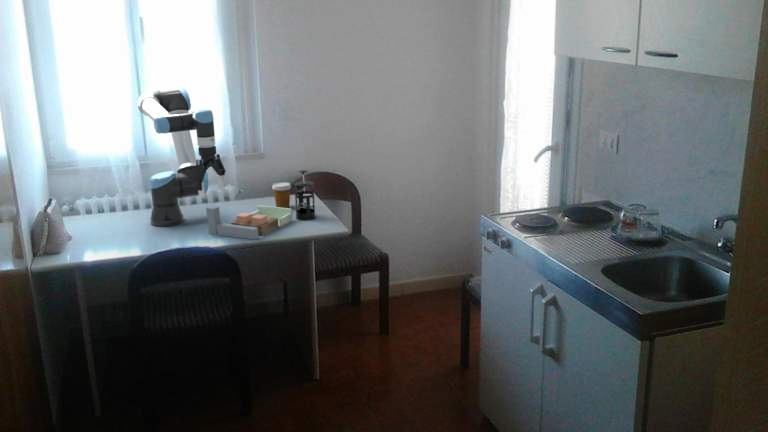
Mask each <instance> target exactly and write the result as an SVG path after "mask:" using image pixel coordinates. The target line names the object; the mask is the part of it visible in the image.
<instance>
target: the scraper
mask: <svg viewBox="0 0 768 432" xmlns="http://www.w3.org/2000/svg"><path fill="white" fill-rule="evenodd" d="M205 210H206V221H207V229H208V231H207V232H208V234H209V235H215V236H216V235H219V236H225V235H226V237H232V236H233V238H241V239H249V240H257V239H259V237H260V235H258V228H257V227H249V226H241V225H233V224H231V223H224V222H221V214H220V211H221V210H220V206H217V205H210V206H208V207H206V208H205Z"/></svg>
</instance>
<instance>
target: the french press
mask: <svg viewBox="0 0 768 432" xmlns="http://www.w3.org/2000/svg"><path fill="white" fill-rule="evenodd" d="M298 172H299V173H300V174H301V175H302V177H303V180H302V181H297V182H295V183H294V184H293V185H294V186H295V190H297V191H296V192H295V193H294V198H295V199H294V201H295V202H294V203H295V215H296V216H295V219H296V220H297V221H302V222H304V221H311V220H314V219H316V218H317V217H316V210H315V209H316V208H315V205H316V204H315V192H314V191H311V190H306V189H305V187H309V188H312V189H313V188H314V186H313V185H314V182H313V181H309V180H308V181H307V180H305V174H306V173H308V172H309V171H308V170H306V169H304V170H302V169H301V170H298ZM311 199H312V202H311Z"/></svg>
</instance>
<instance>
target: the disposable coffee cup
mask: <svg viewBox="0 0 768 432" xmlns="http://www.w3.org/2000/svg"><path fill="white" fill-rule="evenodd" d="M271 188H272V190H273V191H272V192H273V196H274V200H275V207H281V208H290V201H291V188H292V185H291V183H290V182H282V181H281V182H274V183H273V184H272V187H271Z"/></svg>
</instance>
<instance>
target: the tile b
mask: <svg viewBox="0 0 768 432" xmlns="http://www.w3.org/2000/svg"><path fill="white" fill-rule="evenodd" d="M251 221H252V224H258V225H262V224H264V223H266V222H267V215H259V214H257V215H255V216H253V217H251Z"/></svg>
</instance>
